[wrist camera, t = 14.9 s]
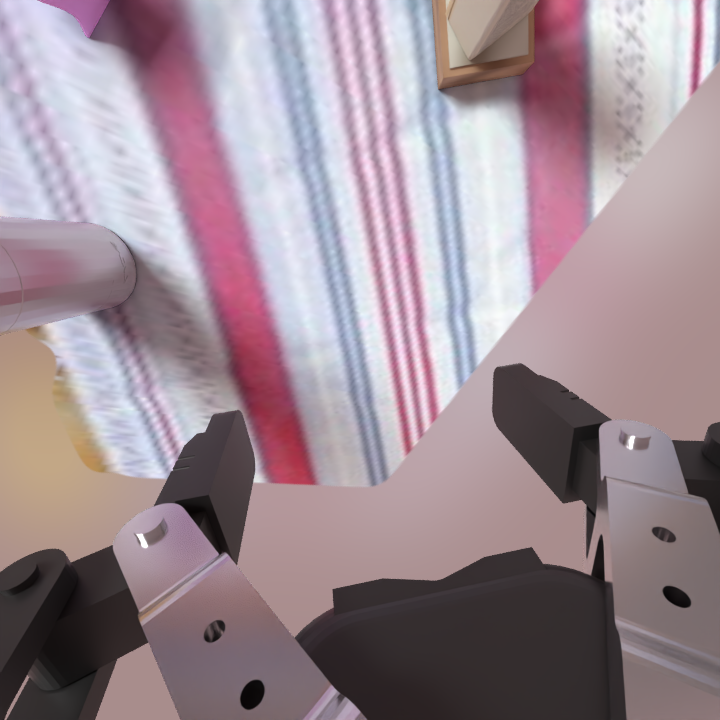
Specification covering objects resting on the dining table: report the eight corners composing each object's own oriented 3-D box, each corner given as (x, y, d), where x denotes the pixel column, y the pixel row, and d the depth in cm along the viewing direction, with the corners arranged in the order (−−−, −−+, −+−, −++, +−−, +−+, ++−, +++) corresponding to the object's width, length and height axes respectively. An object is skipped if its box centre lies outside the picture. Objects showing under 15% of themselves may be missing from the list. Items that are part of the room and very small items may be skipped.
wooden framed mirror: (438, 89, 35) (443, 77, 32) (430, -16, 32) (436, -38, 30) (522, 74, 34) (535, 60, 32) (521, -33, 32) (535, -57, 29)
